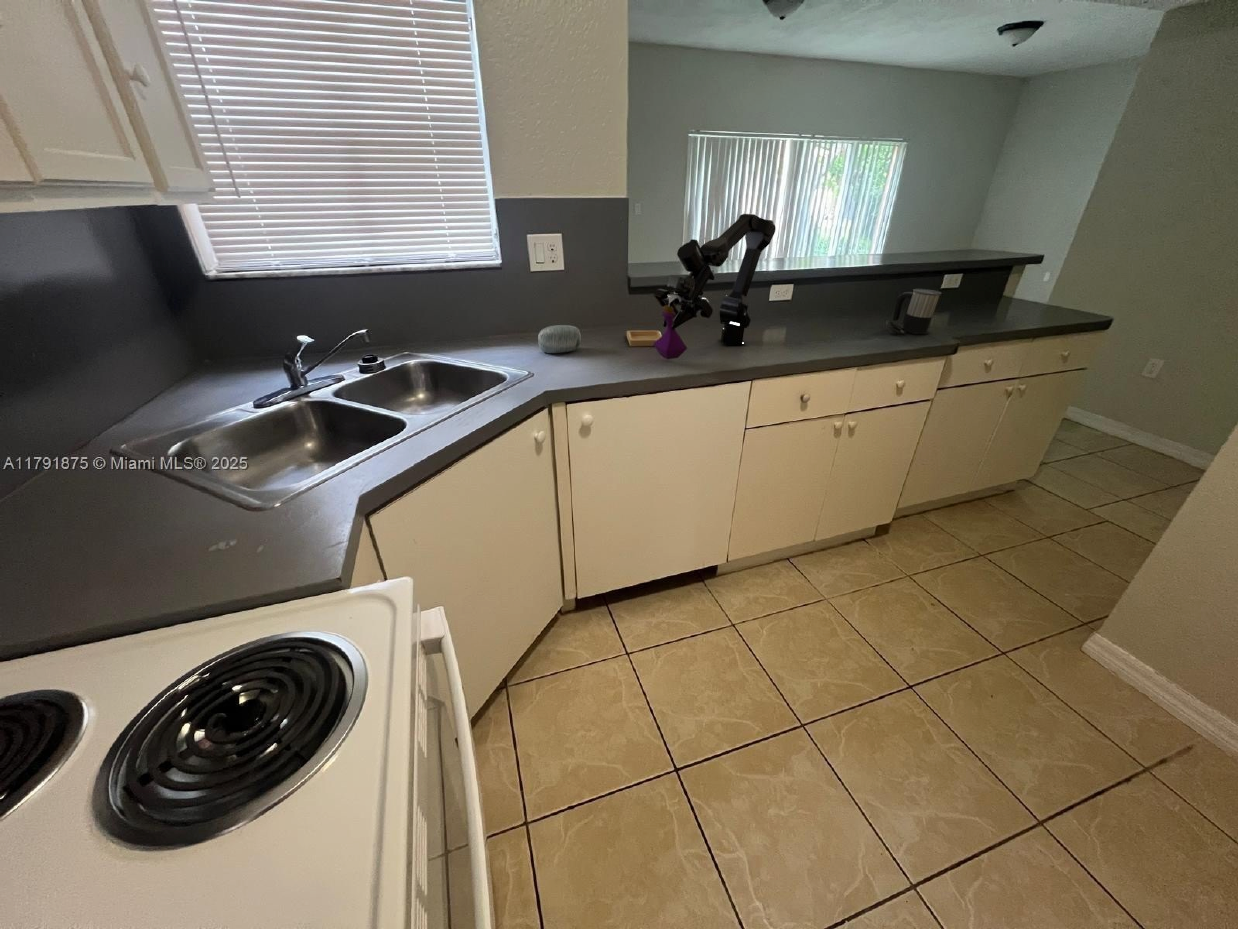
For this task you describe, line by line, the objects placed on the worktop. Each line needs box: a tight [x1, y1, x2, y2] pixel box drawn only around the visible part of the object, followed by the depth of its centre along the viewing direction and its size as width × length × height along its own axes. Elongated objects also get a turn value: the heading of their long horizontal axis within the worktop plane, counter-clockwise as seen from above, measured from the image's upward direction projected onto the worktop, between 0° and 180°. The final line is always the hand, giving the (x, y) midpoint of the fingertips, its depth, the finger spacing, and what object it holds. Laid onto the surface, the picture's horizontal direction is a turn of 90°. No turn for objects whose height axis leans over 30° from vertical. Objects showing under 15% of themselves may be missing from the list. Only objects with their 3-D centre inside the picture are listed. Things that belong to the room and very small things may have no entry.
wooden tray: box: [626, 330, 663, 347], centre depth 167 cm, size 12×12×2 cm
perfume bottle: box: [653, 293, 688, 360], centre depth 142 cm, size 8×8×18 cm
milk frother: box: [886, 288, 942, 335], centre depth 180 cm, size 14×16×15 cm
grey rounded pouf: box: [537, 324, 582, 354], centre depth 154 cm, size 14×10×10 cm
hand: (668, 327), depth 141 cm, fingers closed on perfume bottle, 3 cm apart
